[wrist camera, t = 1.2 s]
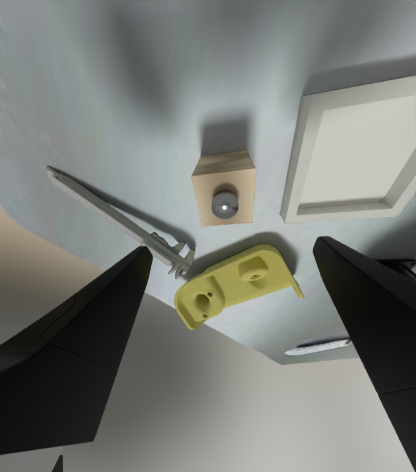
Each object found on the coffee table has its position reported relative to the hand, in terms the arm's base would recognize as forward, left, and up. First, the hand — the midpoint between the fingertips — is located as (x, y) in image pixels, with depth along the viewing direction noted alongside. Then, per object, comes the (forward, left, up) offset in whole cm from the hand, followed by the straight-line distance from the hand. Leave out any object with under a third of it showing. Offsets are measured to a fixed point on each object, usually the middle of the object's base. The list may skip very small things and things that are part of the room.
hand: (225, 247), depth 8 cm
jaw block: (0, 0, -11) cm, 11 cm away
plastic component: (0, +18, -11) cm, 21 cm away
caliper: (+13, +4, -12) cm, 18 cm away
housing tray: (-12, 0, -11) cm, 16 cm away
